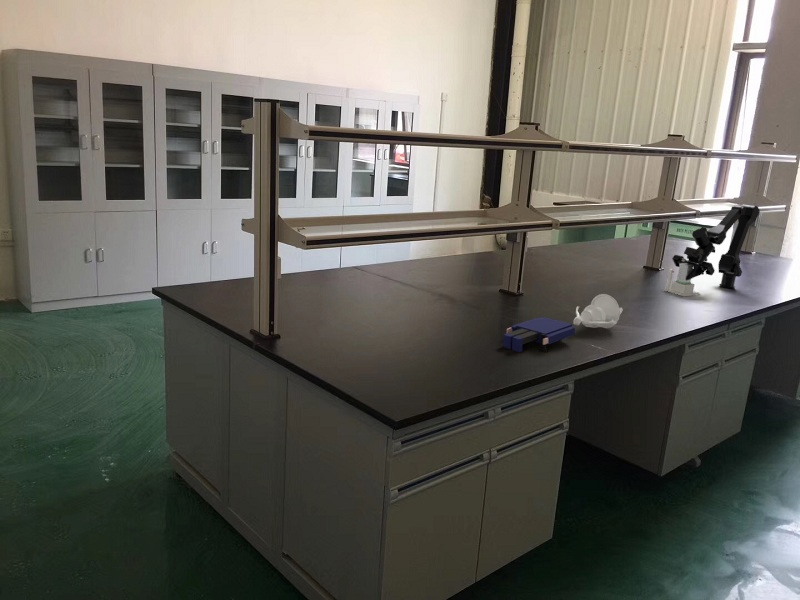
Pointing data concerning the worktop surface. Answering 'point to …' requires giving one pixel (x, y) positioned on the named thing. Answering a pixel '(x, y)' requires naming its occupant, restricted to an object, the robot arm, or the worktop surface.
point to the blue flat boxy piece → (537, 333)
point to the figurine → (599, 313)
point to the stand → (679, 287)
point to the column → (684, 273)
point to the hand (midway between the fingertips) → (682, 278)
